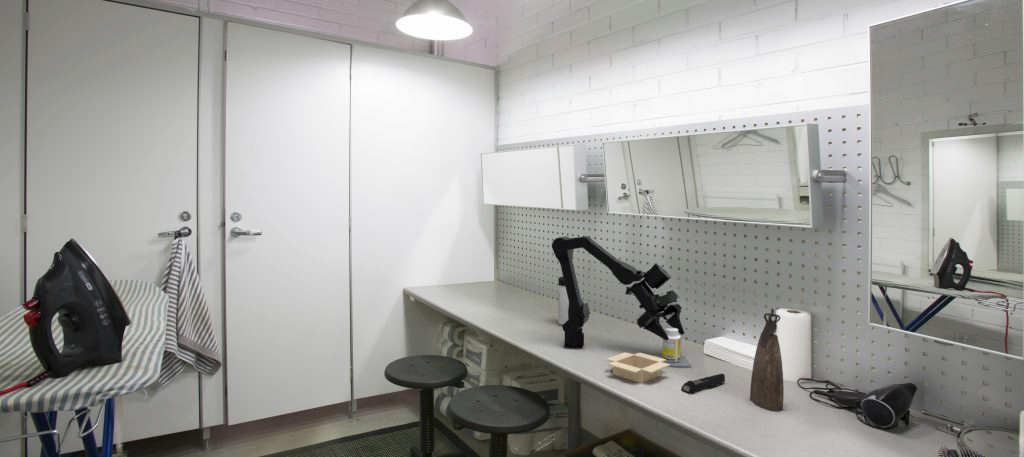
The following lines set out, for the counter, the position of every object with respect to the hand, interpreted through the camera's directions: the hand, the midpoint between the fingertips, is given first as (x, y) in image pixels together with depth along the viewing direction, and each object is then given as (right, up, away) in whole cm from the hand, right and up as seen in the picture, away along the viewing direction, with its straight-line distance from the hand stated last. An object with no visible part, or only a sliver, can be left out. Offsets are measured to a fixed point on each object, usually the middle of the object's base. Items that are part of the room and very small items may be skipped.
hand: (675, 336), depth 168 cm
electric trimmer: (+2, -11, -20) cm, 23 cm away
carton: (-15, -9, -10) cm, 20 cm away
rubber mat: (-1, -8, +2) cm, 9 cm away
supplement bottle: (-1, -8, +2) cm, 8 cm away
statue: (+14, -11, -32) cm, 36 cm away
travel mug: (-30, -5, +50) cm, 59 cm away
